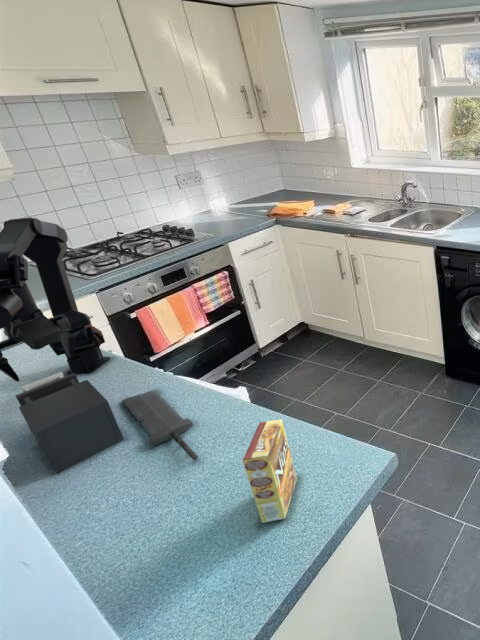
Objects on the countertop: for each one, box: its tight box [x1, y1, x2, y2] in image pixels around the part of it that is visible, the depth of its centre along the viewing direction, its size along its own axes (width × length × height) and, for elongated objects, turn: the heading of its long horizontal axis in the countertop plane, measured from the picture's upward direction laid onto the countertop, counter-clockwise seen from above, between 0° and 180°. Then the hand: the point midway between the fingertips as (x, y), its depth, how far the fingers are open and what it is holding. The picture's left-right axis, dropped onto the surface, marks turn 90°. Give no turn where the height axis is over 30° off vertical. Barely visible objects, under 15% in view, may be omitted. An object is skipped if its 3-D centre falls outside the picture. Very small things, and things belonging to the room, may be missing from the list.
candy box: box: [242, 419, 298, 524], centre depth 77 cm, size 9×4×15 cm, turn 13°
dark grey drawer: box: [15, 371, 80, 407], centre depth 95 cm, size 16×9×9 cm, turn 57°
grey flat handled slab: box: [121, 390, 199, 461], centre depth 96 cm, size 7×35×2 cm, turn 55°
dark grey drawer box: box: [18, 379, 125, 474], centre depth 90 cm, size 13×11×11 cm
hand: (45, 368), depth 95 cm, fingers open, 9 cm apart
